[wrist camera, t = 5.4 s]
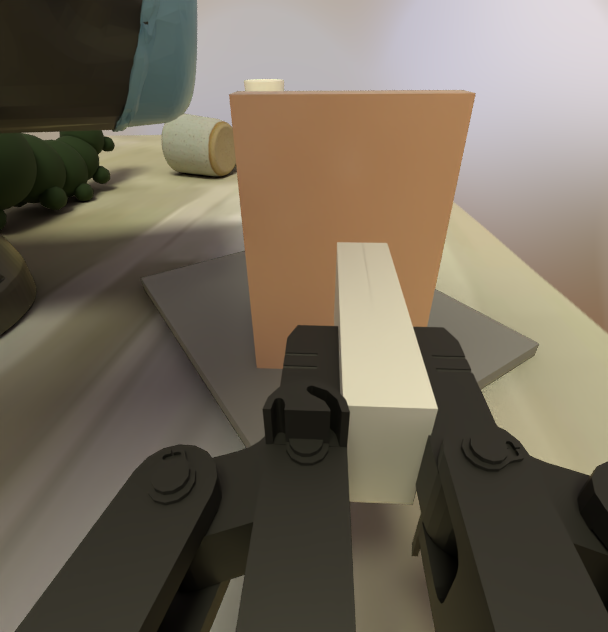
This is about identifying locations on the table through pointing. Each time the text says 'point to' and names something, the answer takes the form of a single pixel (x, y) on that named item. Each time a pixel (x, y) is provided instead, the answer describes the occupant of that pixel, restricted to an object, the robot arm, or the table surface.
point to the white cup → (264, 85)
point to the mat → (258, 383)
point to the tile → (341, 195)
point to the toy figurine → (50, 168)
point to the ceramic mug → (199, 145)
